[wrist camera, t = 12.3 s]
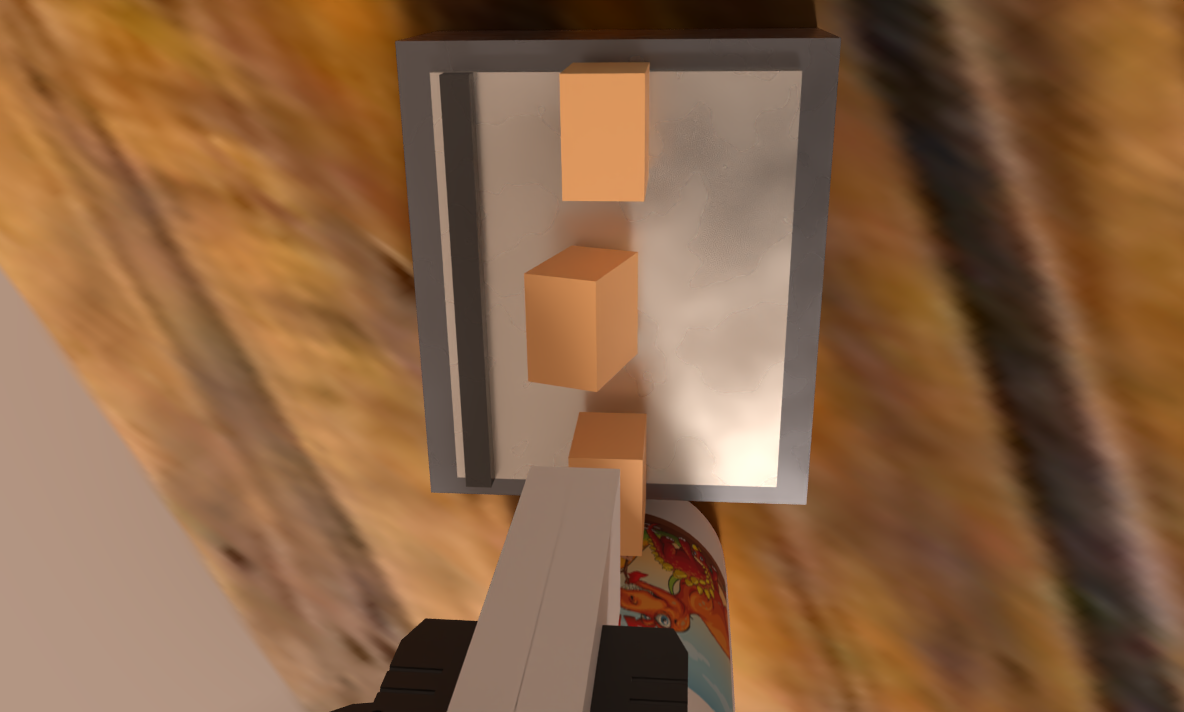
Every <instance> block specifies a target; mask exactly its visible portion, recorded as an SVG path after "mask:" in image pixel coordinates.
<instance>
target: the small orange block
mask: <svg viewBox="0 0 1184 712" xmlns="http://www.w3.org/2000/svg"><path fill="white" fill-rule="evenodd" d="M524 287H525V313H526V339H527V365H528V381H529V382H535V383H541V384H548V385H554V386H561V387H567V388H573V389H580V390H586V391H593V392H598V391H599V390H600V389H601V388H602V387H603V386H604V385H605V384H606V383H607V382H608V381H609V380H610V379H611V378H612V377H613V376H615V375H616V374H617V373H618V372H619V371H620V370H621V369H622V368H623V367H624V366H625V365H626V364H627V363H628V362H629V361H630V360H631V359H632V358H633V357H635V356H636V355H637V354H638V252H634V251H624V250H614V249H603V248H593V247H583V246H573V245H572V246H570V247H568V248H566V249H565V250H563V251H561V252H560V253H558V254H556V255H555V256H553V257H551V258H549V259H548V260H546V261H544V262H543V263H541V264H539V265H538V266H536V267H534V268H533V269H531V270H529V271H527V272H526V273H524Z"/></svg>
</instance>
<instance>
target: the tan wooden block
mask: <svg viewBox="0 0 1184 712" xmlns="http://www.w3.org/2000/svg"><path fill="white" fill-rule="evenodd" d="M646 430H647V414H642V413H602V412H579V415H578V420H577V424H576V428H575V432H574V436H573V440H572V445H571V449H570V453H569V457H568V466H569V467H578V468H607V469H620V556H642V548H643V535H644V522H645V508H646Z"/></svg>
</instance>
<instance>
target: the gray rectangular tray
mask: <svg viewBox="0 0 1184 712" xmlns="http://www.w3.org/2000/svg"><path fill="white" fill-rule="evenodd" d="M395 44H396V56H397V69H398V81H399V94H400V106H401V119H402V132H403V144H404V157H405V169H406V182H407V194H408V207H409V219H410V232H411V244H412V257H413V269H414V282H415V294H416V307H417V319H418V332H419V344H420V357H421V369H422V382H423V394H424V407H425V419H426V432H427V444H428V457H429V469H430V482H431V492H434V493H464V494H495V495H521V493H522V490H523V487H524V484H525V481H526V479H527V476H528V473H529V470H530V467H531V466H549V467H569V466H568V457H569V453H570V449H571V445H572V440H573V436H574V432H575V428H576V424H577V420H578V415H579V412H602V413H642V414H647V430H646V499H649V500H680V501H711V502H742V503H772V504H803V505H806V501H807V488H808V474H809V461H810V447H811V434H812V420H813V407H814V394H815V380H816V367H817V353H818V340H819V326H820V313H821V300H822V286H823V273H824V259H825V246H826V232H827V219H828V206H829V192H830V179H831V165H832V152H833V138H834V125H835V112H836V98H837V85H838V71H839V58H840V44H841V38H840V37H838V36H835V35H833V34H831V33H828V32H826V31H824V30H822V29H819V28H724V29H601V30H478V31H435V32H431V33H427V34H423V35H418V36H414V37H410V38H406V39H402V40H398V41H395ZM601 62H650V67H649V178H648V184H647V189H646V195H645V200H644V202H640V201H562V166H561V123H560V80H559V74H560V73H561V72H562V71H563V70H565V69H566V68H567V67H568V66H569V65H571V64H572V63H601ZM572 245H573V246H583V247H593V248H603V249H614V250H624V251H634V252H638V354H637V355H636V356H635V357H633V358H632V359H631V360H630V361H629V362H628V363H627V364H626V365H625V366H624V367H623V368H622V369H621V370H620V371H619V372H618V373H617V374H616V375H615V376H613V377H612V378H611V379H610V380H609V381H608V382H607V383H606V384H605V385H604V386H603V387H602V388H601V389H600V390H599V391H598V392H593V391H586V390H580V389H573V388H567V387H561V386H554V385H548V384H541V383H535V382H529V381H528V365H527V339H526V313H525V287H524V273H526V272H527V271H529V270H531V269H533V268H534V267H536V266H538V265H539V264H541V263H543V262H544V261H546V260H548V259H549V258H551V257H553V256H555V255H556V254H558V253H560V252H561V251H563V250H565V249H566V248H568V247H570V246H572Z"/></svg>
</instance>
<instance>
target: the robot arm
mask: <svg viewBox="0 0 1184 712" xmlns="http://www.w3.org/2000/svg"><path fill="white" fill-rule="evenodd" d="M619 615H620V469H607V468H578V467H549V466H531V467H530V470H529V473H528V476H527V479H526V481H525V484H524V487H523V490H522V493H521V496H520V499H519V502H518V505H517V508H516V511H515V514H514V517H513V520H512V522H511V525H510V528H509V531H508V534H507V537H506V540H505V543H504V546H503V549H502V552H501V555H500V558H499V561H498V564H497V566H496V569H495V572H494V575H493V578H492V581H491V584H490V587H489V590H488V593H487V596H486V599H485V602H484V605H483V607H482V610H481V613H480V616H479V619H478V621H465V620H445V619H424V620H423V621H422V622H421V623H420V624H419V625H418V626H417V627H416V628H414V629H413V630H412V631H411V632H410V633H409V634H408V635H407V636H405V637H404V638H403V639H402V640H401V642H400V644H399V646H398V649H397V651H396V653H395V655H394V658H393V660H392V662H391V664H390V670H389V671H387V673H386V675H385V678H384V680H383V682H382V684H381V687H380V692H378V693H377V696H376V698H375V700H374V702H373V703H361V704H352V705H349V706H346V707H343V708H340V709H337V710H334V711H331V712H688V651H687V650H686V648H685V646H684V645H683V643H682V641H681V640H680V638H679V636H678V635H677V633H676V632H675V630H674V628H656V627H636V626H618V623H619Z"/></svg>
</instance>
